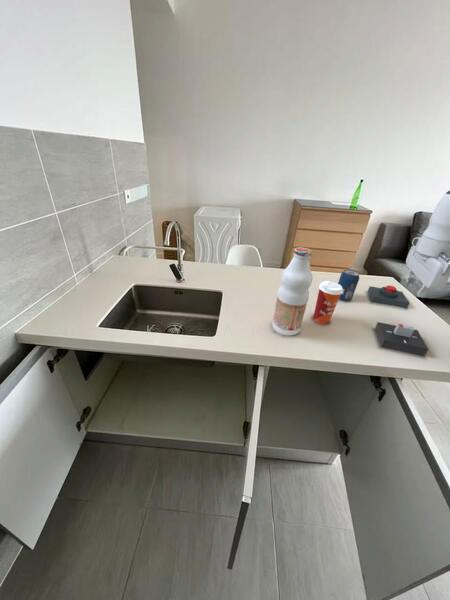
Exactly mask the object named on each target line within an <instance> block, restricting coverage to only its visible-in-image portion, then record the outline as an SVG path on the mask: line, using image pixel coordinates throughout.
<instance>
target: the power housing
mask: <svg viewBox="0 0 450 600" xmlns="http://www.w3.org/2000/svg"><path fill="white" fill-rule="evenodd" d="M386 287H387V286H382V287H377V286H372V285H371V286H370V285H369V287H368V289H367V294H368V296H369V299H370V301H371V303H375V304H380V305H386V306H391V307H397V308H403V309H407V308H408V307H409V305H410V302H409V300H408V298H407V297H406V295H405V294H404V292H403V291H401V290H400V291H399V290H397V289H396V291H395V293H390V292H387V291H386V290H385V289H386Z"/></svg>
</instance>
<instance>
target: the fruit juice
mask: <svg viewBox="0 0 450 600" xmlns="http://www.w3.org/2000/svg"><path fill="white" fill-rule="evenodd" d="M312 252H313V251H312V250H311V248H308V247H302V246H298V247H295V248H294V250H293V258H292V259H291V260H290V262H289V263H288V265H287V266H286V267H285V269H284V270H283V272H282V274H281V279H280V280H281V284H280V286H279V288H278V291H277V295H276V302H275V306H274V312H273V318H272V322H271V323H272V328H273V330H274V331H275V332H277V333H278V334H279V335H282V336H295V335H297V334H298V333H299V332H300V330H301V328H302V327H301V326H302V323H303V319H304V316H305V313H306V309H307V304H308V301H309V296H310V291H309V289H310V287H311V286H312V284H313V278H314V276H313V273H312V270H311V263H310V259H311V257H312V254H313V253H312Z"/></svg>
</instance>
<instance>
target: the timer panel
mask: <svg viewBox="0 0 450 600" xmlns="http://www.w3.org/2000/svg"><path fill="white" fill-rule="evenodd" d="M395 327H396V325H395V324H390V323H386V322H380V321H378V322H377V323H376V325H375V327H374V331H375V333H376V336H377V339H378V342H379V345H380V348H383V349H384V348H385V349H387V350H388V349H389V350H393V351H398V352H402V353H406V354H412V355H415V356H420V357H425V356H426V354H427V353H428V351H429V348H428V346H427V344H426V342H425V341H424V339H423V337H422V336H421V334H420V332H419V330H418V329H415V330H414V332H413V334H412V335H411V337H405V336H400V335H395V334H394V332H393V331H394V329H395Z"/></svg>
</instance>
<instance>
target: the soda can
mask: <svg viewBox="0 0 450 600" xmlns="http://www.w3.org/2000/svg"><path fill="white" fill-rule="evenodd" d="M359 281H360V273H359V271H356V270H355V269H354V270H353V269H347V268H346V269H344V270H343V271H342V272H341V273H340V276H339V279H338V282H337V283H338V284H339V285H341V286H342V290H343V293H342V294H341V295H340V297H339V300H338V301H342V302H349V301H351V300H352V299H353V298H354V294H355V291H356V289H357V286H358V284H359Z"/></svg>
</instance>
